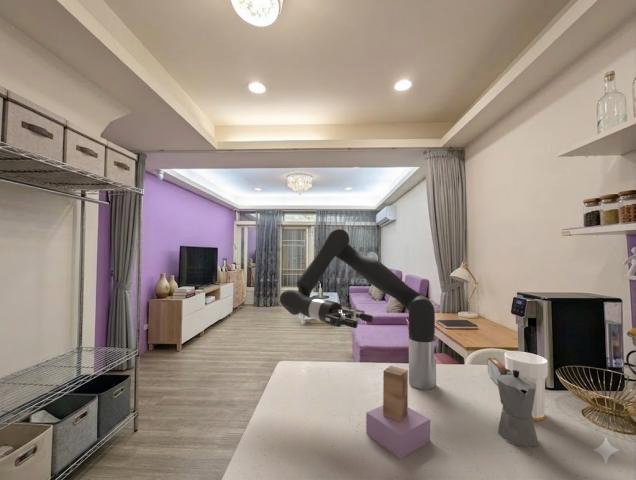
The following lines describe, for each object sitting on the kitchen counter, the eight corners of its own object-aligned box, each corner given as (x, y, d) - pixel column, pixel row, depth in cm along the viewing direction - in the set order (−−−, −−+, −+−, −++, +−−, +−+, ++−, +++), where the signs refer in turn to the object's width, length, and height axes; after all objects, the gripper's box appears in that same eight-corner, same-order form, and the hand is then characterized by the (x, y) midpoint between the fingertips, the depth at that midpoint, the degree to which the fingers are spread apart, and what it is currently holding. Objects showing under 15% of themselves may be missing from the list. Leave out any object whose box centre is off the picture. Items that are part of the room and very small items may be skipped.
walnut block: (390, 408, 83) (390, 365, 84) (407, 414, 80) (407, 369, 81) (383, 415, 80) (383, 370, 80) (400, 422, 76) (401, 375, 77)
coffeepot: (548, 456, 72) (546, 383, 73) (505, 448, 75) (503, 377, 76) (525, 422, 87) (523, 361, 88) (489, 416, 90) (488, 357, 90)
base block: (395, 420, 88) (395, 400, 88) (430, 442, 78) (430, 419, 78) (366, 434, 81) (366, 412, 81) (400, 460, 71) (400, 434, 71)
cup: (543, 408, 95) (542, 354, 96) (554, 426, 85) (552, 366, 85) (502, 400, 100) (501, 349, 100) (508, 417, 89) (507, 359, 90)
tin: (510, 392, 106) (510, 368, 106) (501, 391, 106) (500, 368, 107) (494, 375, 120) (493, 354, 121) (485, 374, 121) (485, 354, 121)
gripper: (311, 303, 95) (352, 314, 84) (338, 297, 106) (377, 306, 95) (310, 326, 95) (350, 339, 84) (337, 317, 106) (376, 328, 95)
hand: (364, 321), depth 90 cm, fingers open, 8 cm apart
